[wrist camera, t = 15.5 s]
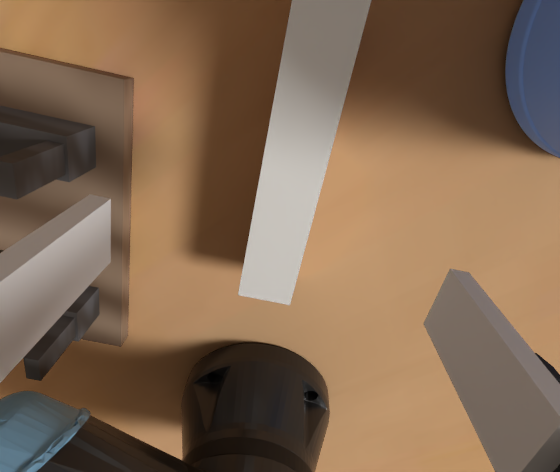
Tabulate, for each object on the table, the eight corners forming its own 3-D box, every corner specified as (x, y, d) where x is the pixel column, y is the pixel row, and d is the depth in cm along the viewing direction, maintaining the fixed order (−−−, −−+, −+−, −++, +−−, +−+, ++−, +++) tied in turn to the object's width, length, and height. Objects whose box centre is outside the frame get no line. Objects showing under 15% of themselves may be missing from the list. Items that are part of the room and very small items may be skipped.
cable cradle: (127, 335, 36) (74, 422, 28) (5, 312, 36) (-88, 393, 27) (133, 78, 25) (50, 91, 17) (-43, 38, 25) (-221, 31, 16)
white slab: (291, 270, 32) (289, 305, 28) (246, 261, 32) (237, 295, 27) (358, 8, 23) (371, -2, 19) (296, -6, 23) (295, -20, 18)
